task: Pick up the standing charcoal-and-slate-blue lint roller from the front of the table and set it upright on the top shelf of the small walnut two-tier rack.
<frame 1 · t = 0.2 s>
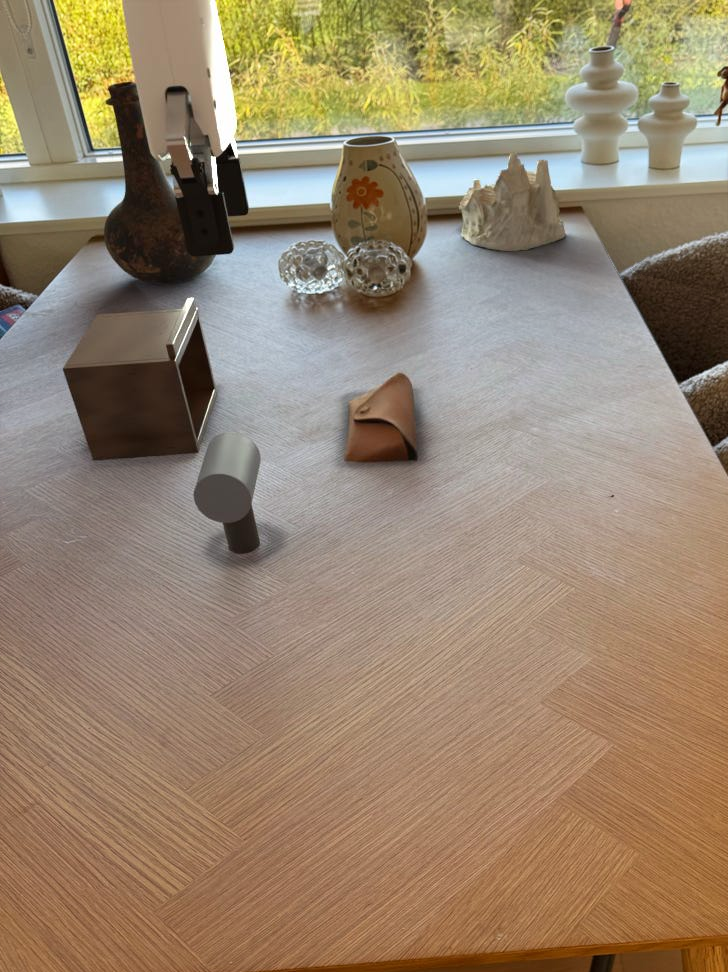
hand: (221, 233, 72), 30 cm above the table, tool pointing down, fingers open, 9 cm apart
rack: (158, 424, 116), on the table
sunglasses case: (381, 436, 111), on the table
glass bottle: (172, 277, 159), on the table
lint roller: (246, 553, 93), on the table
ceramic cottage: (513, 237, 168), on the table
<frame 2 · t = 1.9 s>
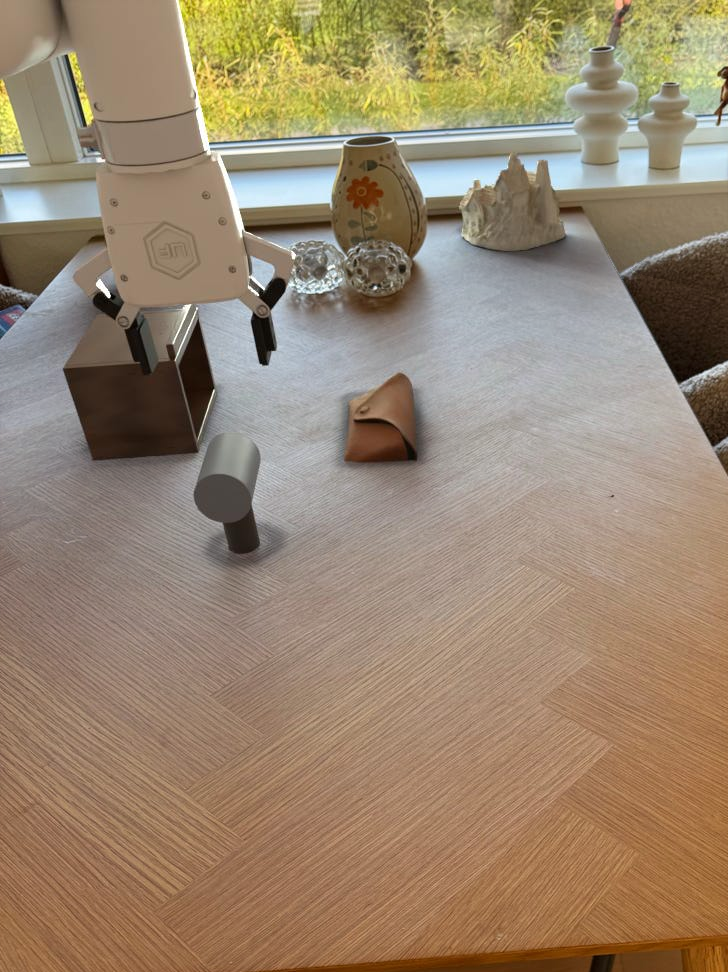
hand: (208, 364, 80), 19 cm above the table, tool pointing down, fingers open, 9 cm apart
nothing on the table moved.
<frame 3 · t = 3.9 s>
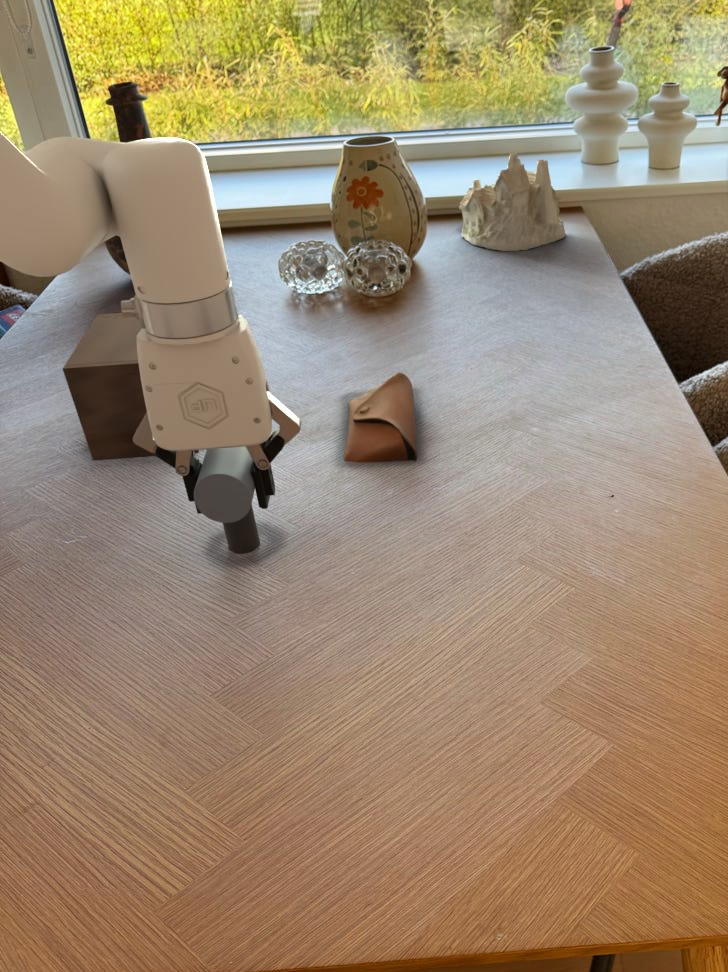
hand: (234, 501, 89), 6 cm above the table, tool pointing down, fingers closed on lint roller, 5 cm apart
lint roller: (246, 553, 93), on the table, touching gripper
everything else where it was.
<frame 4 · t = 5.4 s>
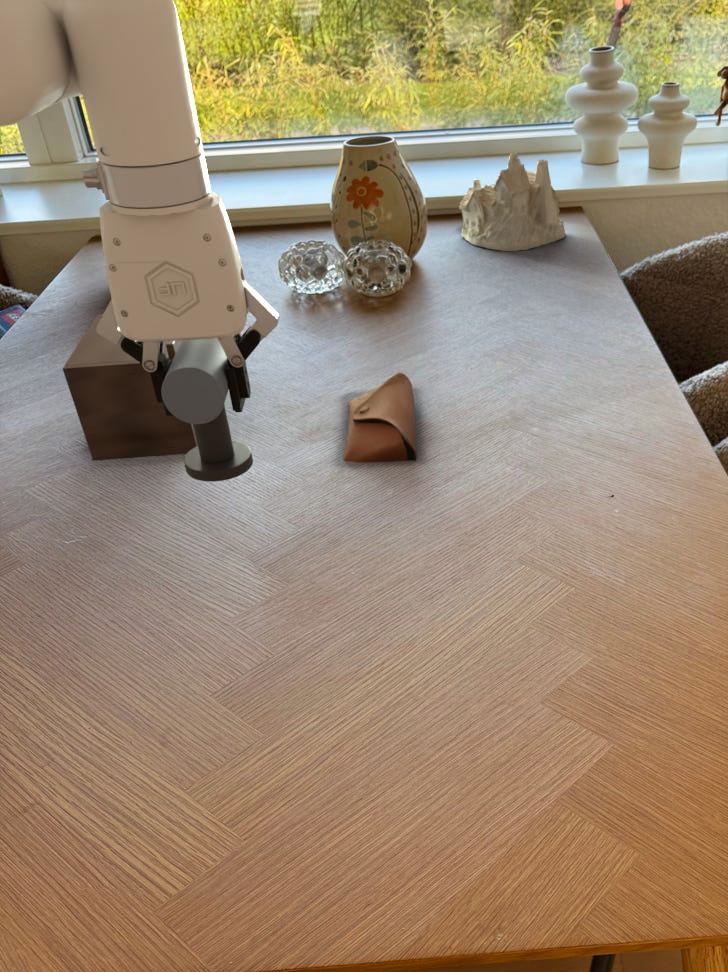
hand: (206, 405, 83), 16 cm above the table, tool pointing down, fingers closed on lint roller, 5 cm apart
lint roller: (219, 465, 87), point 10 cm above the table, touching gripper
everything else where it was.
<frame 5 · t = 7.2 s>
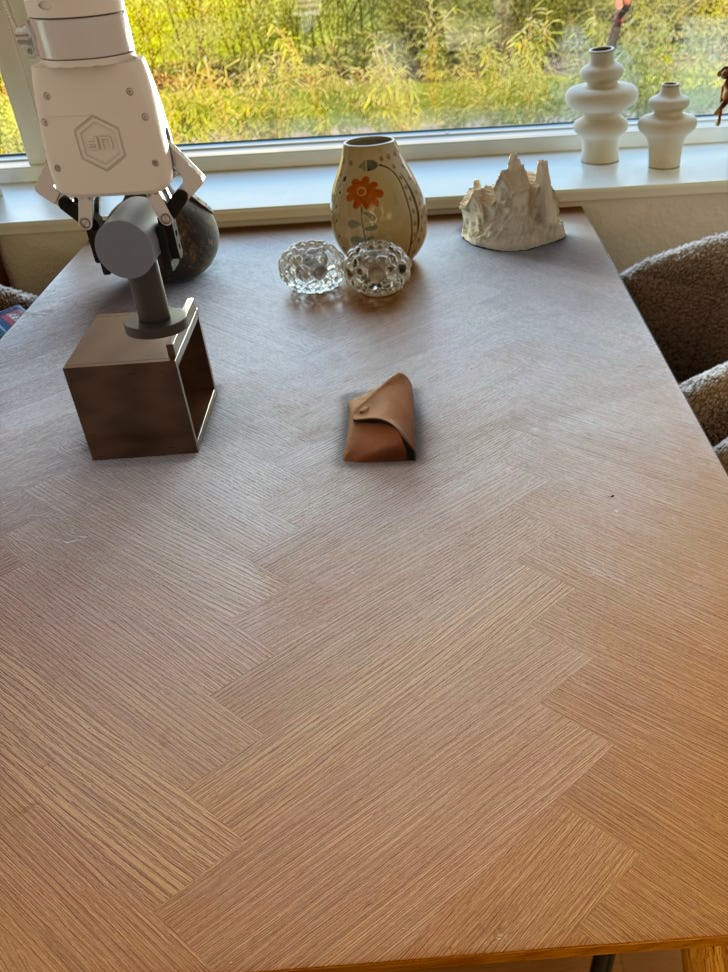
hand: (141, 266, 89), 23 cm above the table, tool pointing down, fingers closed on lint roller, 5 cm apart
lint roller: (157, 327, 93), point 17 cm above the table, touching gripper
everything else where it was.
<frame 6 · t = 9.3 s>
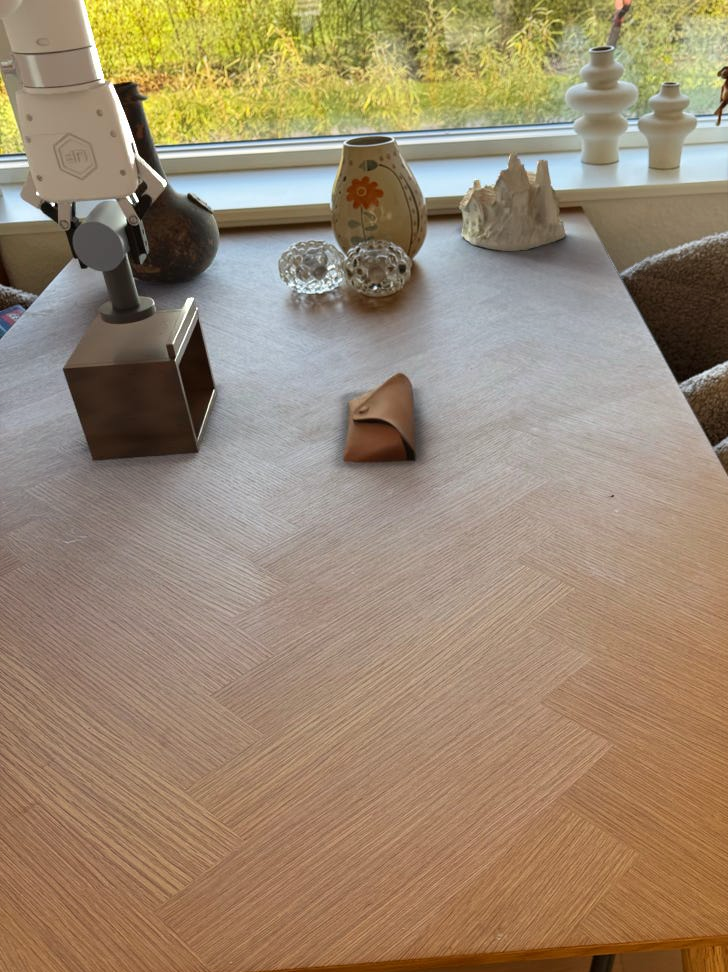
hand: (113, 261, 103), 19 cm above the table, tool pointing down, fingers closed on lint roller, 5 cm apart
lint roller: (128, 314, 107), point 13 cm above the table, touching gripper
everything else where it was.
when the fingers open (17 cm above the table, at t = 10.4 s): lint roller stays where it is, resting on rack.
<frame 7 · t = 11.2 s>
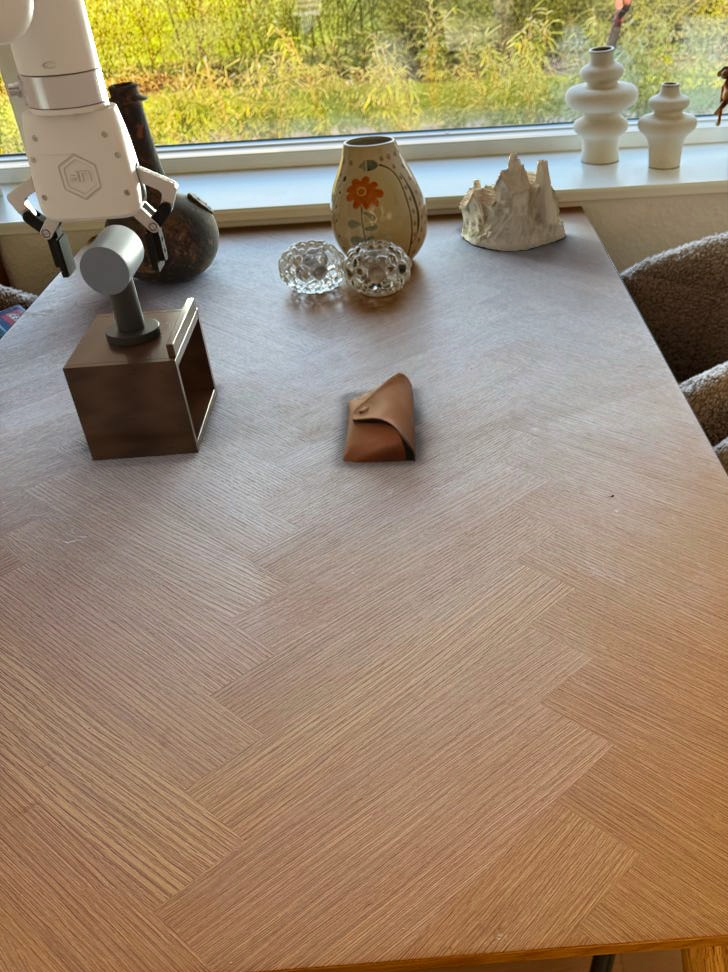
hand: (114, 270, 104), 18 cm above the table, tool pointing down, fingers open, 9 cm apart
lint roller: (134, 336, 109), point 11 cm above the table, touching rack
everything else where it was.
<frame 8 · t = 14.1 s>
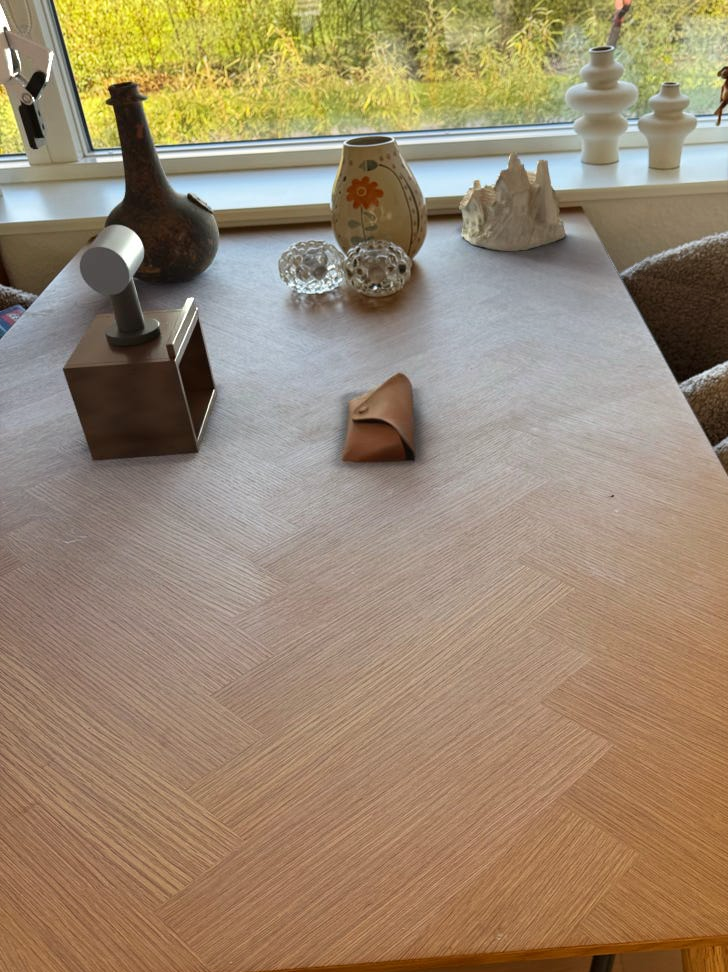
nothing on the table moved.
at the end: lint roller inside the target area on the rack (0.1 cm from its centre), point 11.0 cm above the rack's base; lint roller tilted 0°; the gripper is holding nothing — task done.
